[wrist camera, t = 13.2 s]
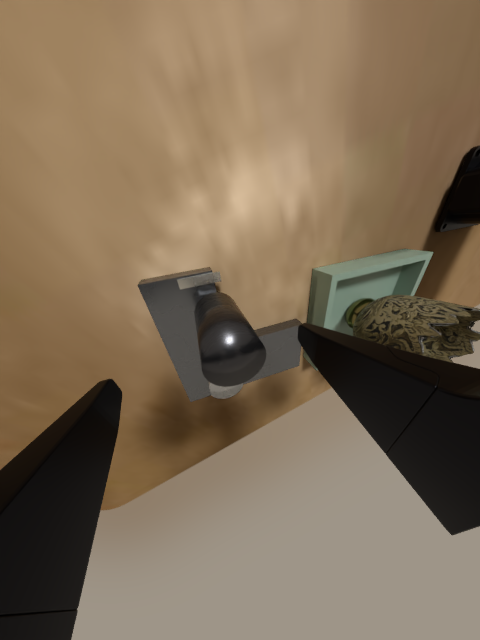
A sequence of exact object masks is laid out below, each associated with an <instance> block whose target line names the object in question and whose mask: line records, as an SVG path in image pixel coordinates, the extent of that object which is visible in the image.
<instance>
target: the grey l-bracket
mask: <svg viewBox="0 0 480 640" xmlns="http://www.w3.org/2000/svg"><path fill="white" fill-rule="evenodd" d="M219 281H221V277H220V272H219V271H218V272H213V273H212V270H211V268H210V267H207V268H202V269H197V270H192V271H186V272H181V273H176V274H171V275H165V276H160V277H155V278H149V279H144V280H141V281H140V282H139V284H138V287H139V289H140V292H141V294H142V296H143V298H144V300H145V303H146V305H147V307H148V309H149V311H150V314H151V316H152V318H153V320H154V322H155V325H156V327H157V329H158V331H159V334H160V336H161V338H162V340H163V342H164V345H165V347H166V349H167V351H168V353H169V356H170V358H171V360H172V362H173V364H174V367H175V369H176V371H177V373H178V375H179V378H180V380H181V382H182V384H183V386H184V389H185V391H186V393H187V395H188V397H189V400H190V402H192V401H195V400H198V399H201V398H204V397H207V396H210V395H211V394H210V390H209V384H208V380H207V379H206V378H205V377H204V375H203V373H202V367H201V360H200V353H199V345H198V338H197V331H196V323H195V316H194V310H195V306H196V304H197V302H198V301H199V300H200V299H201V298H202V297H203V296H205V295H207V294H210V293H214V292H216V287H215V283H214V282H219ZM300 324H302V323H301V322H300V321H299V320H297V319H293V320H290V321H286V322H283V323H279V324H275V325H272V326H268V327H264V328H261V329H257V330H254V331H255V333H256V334H257V336H258V337H259V339H260V340H261V342H262V343H263V345H264V346H265V349H266V360H265V363H264V365H263V367H262V368H261V370H260V371H259V372H258V373H257V374H256V375H255V376H254V377H253V378H251V379H250V380H248V381H246V382H244V383H243V384H246V383H249V382H252V381H255V380H258V379H261V378H264V377H267V376H270V375H273V374H276V373H279V372H282V371H285V370H288V369H291V368H294V367H297V366H299V362H300V351H301V344H300V343H299V341H298V326H299V325H300Z"/></svg>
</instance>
